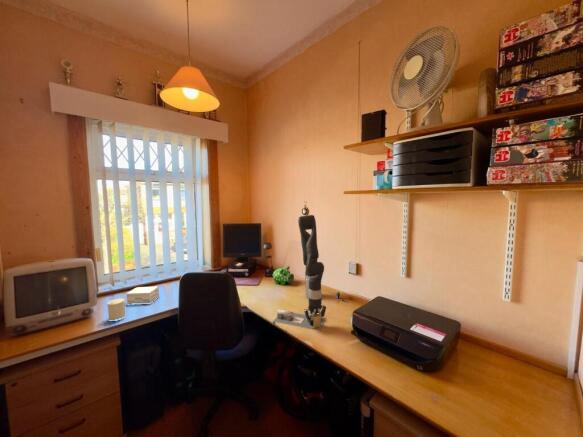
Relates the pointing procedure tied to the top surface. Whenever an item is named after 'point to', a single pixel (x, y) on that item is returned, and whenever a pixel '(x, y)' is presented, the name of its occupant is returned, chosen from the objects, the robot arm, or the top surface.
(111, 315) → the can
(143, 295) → the supplement box
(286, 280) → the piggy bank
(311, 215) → the robot arm
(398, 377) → the top surface
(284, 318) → the shaft base
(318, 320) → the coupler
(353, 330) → the hand tool
